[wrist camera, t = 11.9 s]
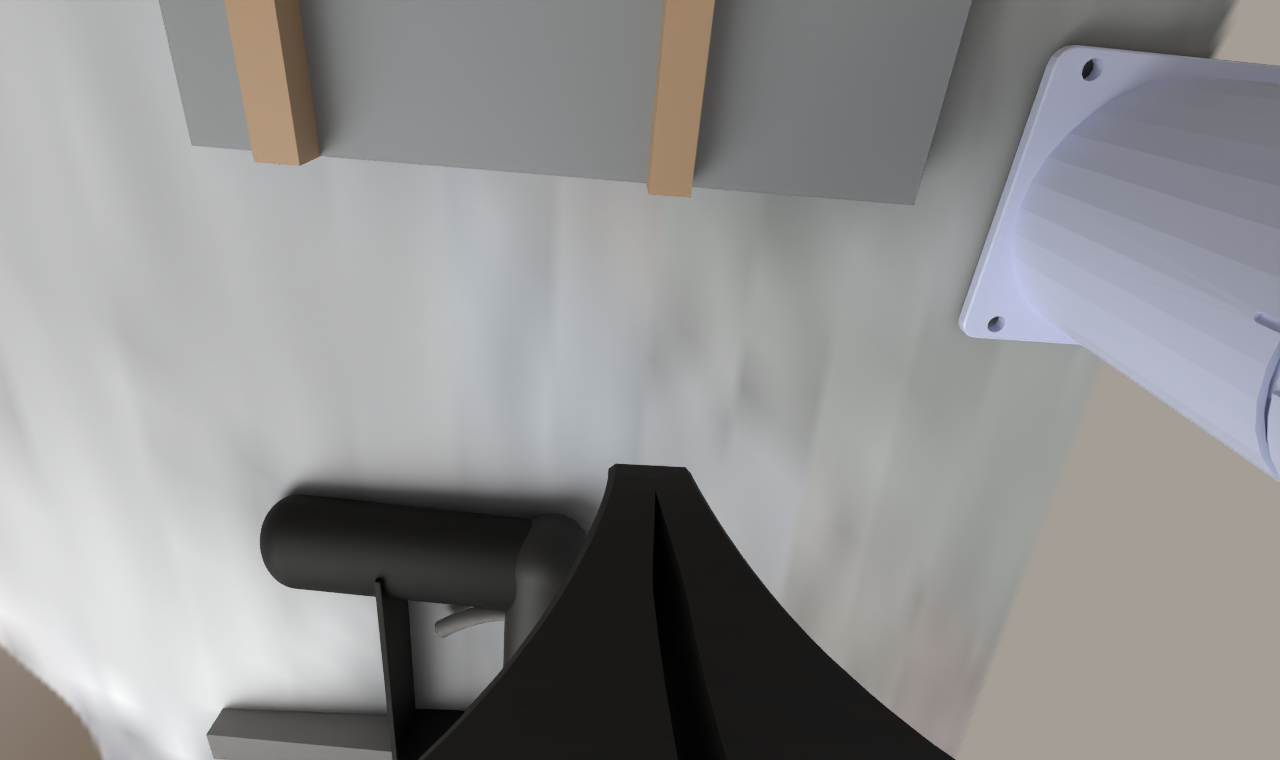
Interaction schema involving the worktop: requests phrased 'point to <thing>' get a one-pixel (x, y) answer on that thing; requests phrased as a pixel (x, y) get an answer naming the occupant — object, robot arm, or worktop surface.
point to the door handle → (398, 609)
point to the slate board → (581, 87)
